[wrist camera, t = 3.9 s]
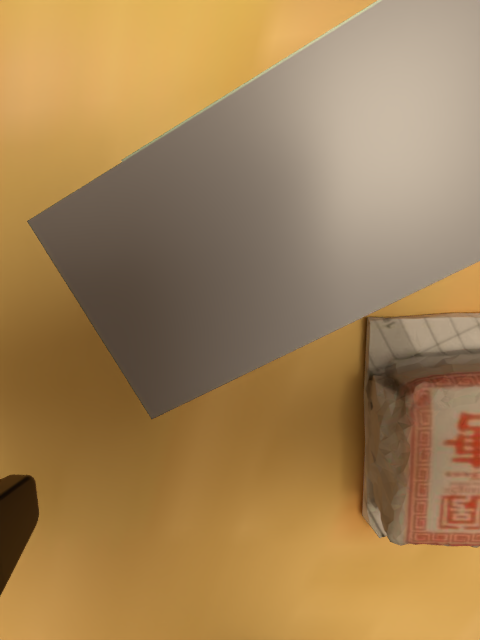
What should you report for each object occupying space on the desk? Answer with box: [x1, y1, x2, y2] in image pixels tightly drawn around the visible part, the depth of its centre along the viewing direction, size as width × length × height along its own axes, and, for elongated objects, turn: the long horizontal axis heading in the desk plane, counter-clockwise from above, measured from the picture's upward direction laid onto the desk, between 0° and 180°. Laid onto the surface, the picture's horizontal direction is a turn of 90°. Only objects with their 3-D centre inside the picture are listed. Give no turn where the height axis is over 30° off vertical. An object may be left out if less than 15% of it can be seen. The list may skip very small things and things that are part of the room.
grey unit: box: [27, 0, 480, 419], centre depth 13 cm, size 6×15×9 cm, turn 119°
